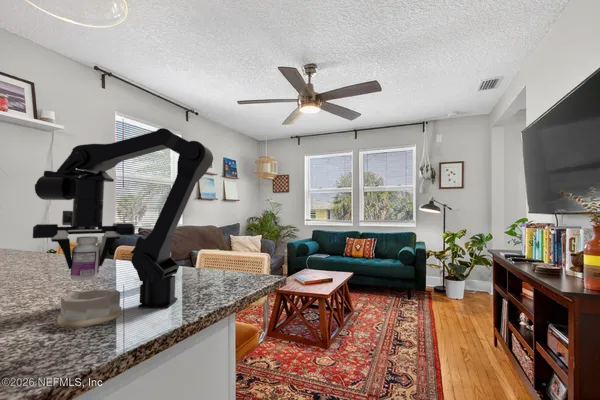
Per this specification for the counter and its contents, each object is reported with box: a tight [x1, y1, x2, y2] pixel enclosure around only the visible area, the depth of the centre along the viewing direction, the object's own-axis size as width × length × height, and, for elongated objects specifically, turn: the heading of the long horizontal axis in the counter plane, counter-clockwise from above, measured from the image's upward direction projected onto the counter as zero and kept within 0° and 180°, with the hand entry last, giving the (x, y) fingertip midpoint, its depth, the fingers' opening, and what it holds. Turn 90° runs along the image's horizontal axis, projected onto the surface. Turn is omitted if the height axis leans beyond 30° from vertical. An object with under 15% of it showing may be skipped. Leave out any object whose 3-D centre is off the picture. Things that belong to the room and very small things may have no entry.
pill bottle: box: [70, 235, 101, 282], centre depth 67 cm, size 5×5×10 cm
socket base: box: [56, 288, 122, 328], centre depth 58 cm, size 10×10×4 cm
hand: (85, 267), depth 67 cm, fingers closed on pill bottle, 5 cm apart
